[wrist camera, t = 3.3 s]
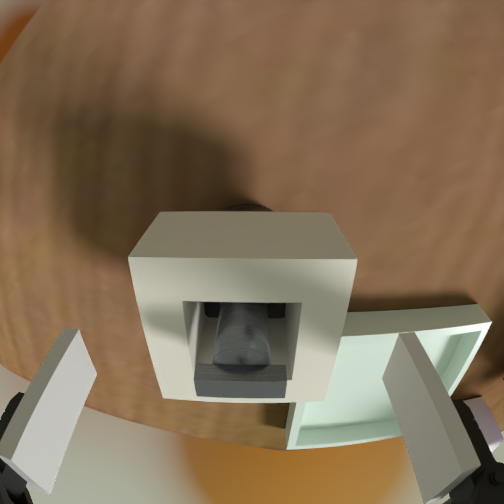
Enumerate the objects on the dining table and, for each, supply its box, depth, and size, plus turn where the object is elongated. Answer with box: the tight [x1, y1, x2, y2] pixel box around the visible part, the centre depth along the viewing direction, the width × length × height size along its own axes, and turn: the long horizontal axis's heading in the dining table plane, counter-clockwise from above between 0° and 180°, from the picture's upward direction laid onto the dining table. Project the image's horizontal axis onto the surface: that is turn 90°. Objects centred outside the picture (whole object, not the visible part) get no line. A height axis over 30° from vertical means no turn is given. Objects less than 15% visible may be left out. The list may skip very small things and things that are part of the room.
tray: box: [285, 304, 492, 450], centre depth 25 cm, size 16×16×3 cm
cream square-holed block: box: [128, 211, 358, 403], centre depth 15 cm, size 9×8×4 cm
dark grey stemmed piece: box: [194, 204, 287, 398], centre depth 15 cm, size 6×6×11 cm
